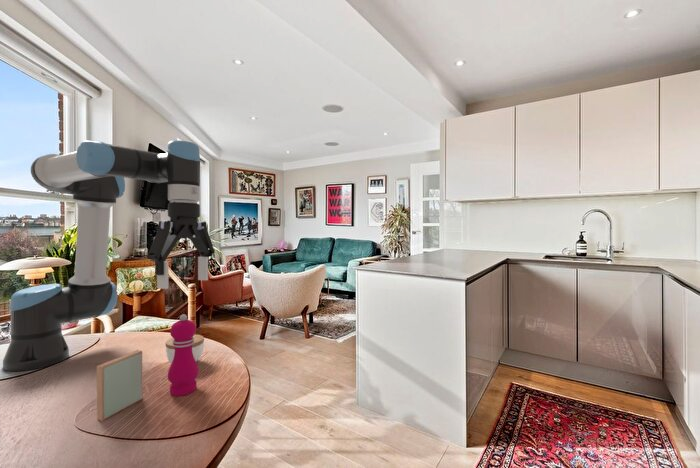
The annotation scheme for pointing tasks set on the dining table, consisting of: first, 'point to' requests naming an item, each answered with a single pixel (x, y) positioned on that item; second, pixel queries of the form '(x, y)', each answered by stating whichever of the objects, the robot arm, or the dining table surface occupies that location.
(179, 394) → the pepper mill
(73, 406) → the dining table surface
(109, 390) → the tile
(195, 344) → the lidded jar
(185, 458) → the dining table surface
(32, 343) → the robot arm
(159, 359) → the dining table surface
